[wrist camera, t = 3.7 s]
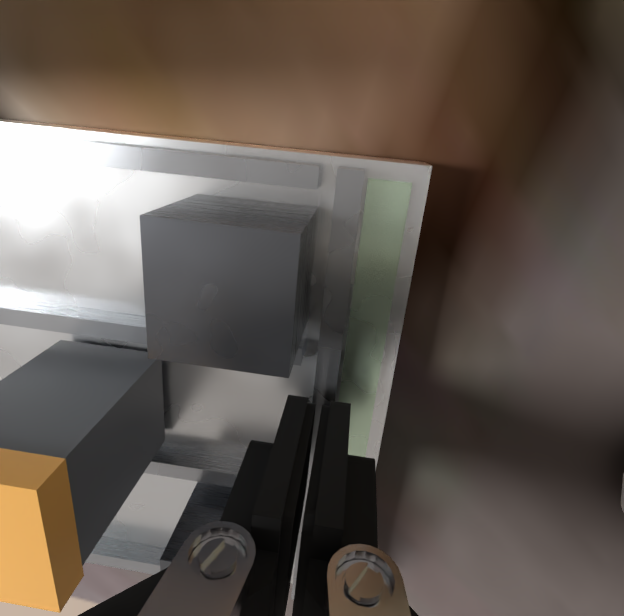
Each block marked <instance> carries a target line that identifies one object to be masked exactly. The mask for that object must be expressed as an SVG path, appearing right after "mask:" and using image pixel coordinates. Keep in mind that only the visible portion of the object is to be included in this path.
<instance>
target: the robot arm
mask: <svg viewBox="0 0 624 616" xmlns="http://www.w3.org/2000/svg"><path fill="white" fill-rule="evenodd" d="M308 400H309V398H308V397H302V396H295V395H288V397H287V400H286V404H285V407H284V410H283V414H282V417H281V420H280V424H279V427H278V430H277V434H276V437H275V440H274V443H268V442H262V441H255V440H251V441H250V443H249V445H248V448H247V451H246V453H245V456H244V459H243V461H242V464H241V466H240V469H239V472H238V474H237V477H236V480H235V482H234V485H233V488H232V490H231V493H230V496H229V498H228V501H227V503H226V506H225V509H224V511H223V514H222V517H221V519H220V521H219V522H211V523H209V524H206V525H203V526H201V527H199V528H198V529H196V530H195V531H194V532H192V533H191V534H190V535H189V537H188V538H187V539H186V540H185V541H184V543H183V545H182V546H181V548H180V549H179V551H178V552H177V554H176V556H175V557H174V559H173V560H172V562H171V564H170V565H169V567H167V568H165V569H164V570H162V571H160V572H158V573H156V574H154V575H152V576H151V577H149V578H147V579H145V580H143V581H141V582H139V583H137V584H136V585H134V586H132V587H130V588H128V589H126V590H124V591H123V592H121V593H119V594H117V595H115V596H113V597H111V598H110V599H108V600H106V601H104V602H102V603H100V604H98V605H96V606H95V607H93V608H91V609H89V610H87V611H85V612H84V613H82V614H80V615H78V616H285V611H286V605H287V600H288V594H289V588H290V582H291V576H292V570H293V564H294V558H295V553H296V547H297V541H298V535H299V529H300V523H301V517H302V512H303V506H304V500H305V494H306V487H307V479H308V470H309V461H310V452H311V443H312V434H313V425H314V416H315V407H316V404H312V403H308ZM350 411H351V403H344V402H337V401H331V403H330V406H326V405H322V408H321V414H320V420H319V426H318V432H317V438H316V444H315V450H314V456H313V463H312V469H311V475H310V481H309V487H308V493H307V499H306V505H305V511H304V518H303V525H302V532H301V541H300V550H299V559H298V568H297V577H296V586H295V595H294V604H293V613H292V616H418V615H417V614H416V612H415V611H414V610H413V609H412V608H411V607H410V606H409V604H408V600H407V596H406V591H405V587H404V583H403V578H402V576H401V573H400V571H399V568H398V567H397V565H396V564H395V563H394V561H393V560H392V559H391V558H390V557H389V556H388V555H387V554H385V553H384V552H383V551H382V550H379V549H378V548H377V507H376V466H375V459H374V458H367V457H360V456H354V455H348V444H349V428H350Z"/></svg>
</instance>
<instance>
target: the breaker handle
mask: <svg viewBox="0 0 624 616" xmlns="http://www.w3.org/2000/svg"><path fill="white" fill-rule="evenodd" d="M164 441H165V422H164V400H163V378H162V360H155V359H148V352H144V351H137V350H130V349H123V348H116V347H108V346H101V345H94V344H87V343H80V342H73V341H66V340H60V341H58V342H57V343H55V344H54V345H52V346H51V347H49V348H48V349H46V350H45V351H43V352H42V353H40V354H39V355H37V356H36V357H34V358H33V359H32V360H30V361H29V362H27V363H26V364H24V365H23V366H21V367H20V368H18V369H17V370H15V371H14V372H12V373H11V374H9V375H8V376H6V377H5V378H4V379H2V380H1V381H0V601H1V602H6V603H11V604H16V605H22V606H27V607H33V608H38V609H44V610H49V611H54V612H59V613H60V612H61V610H62V609H63V607H64V605H65V604H66V603H67V601H68V599H69V598H70V596H71V595H72V593H73V592H74V590H75V588H76V587H77V585H78V584H79V582H80V581H81V579H82V578H83V576H84V574H83V567H82V566H83V564H84V563H85V561H86V560H87V558H88V557H89V555H90V554H91V552H92V551H93V549H94V548H95V546H96V545H97V543H98V542H99V540H100V539H101V537H102V536H103V534H104V532H105V531H106V529H107V528H108V526H109V525H110V523H111V522H112V520H113V519H114V517H115V516H116V514H117V513H118V511H119V510H120V508H121V507H122V505H123V504H124V502H125V500H126V499H127V497H128V496H129V494H130V493H131V491H132V490H133V488H134V487H135V485H136V484H137V482H138V481H139V479H140V478H141V476H142V475H143V473H144V472H145V470H146V468H147V467H148V465H149V464H150V462H151V461H152V459H153V458H154V456H155V455H156V453H157V452H158V450H159V449H160V447H161V446H162V444H163V443H164Z"/></svg>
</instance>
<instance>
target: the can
mask: <svg viewBox="0 0 624 616" xmlns="http://www.w3.org/2000/svg"><path fill="white" fill-rule="evenodd" d="M621 507H622V509H623V512H624V474H623V481H622V494H621Z"/></svg>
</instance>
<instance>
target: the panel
mask: <svg viewBox="0 0 624 616" xmlns="http://www.w3.org/2000/svg"><path fill="white" fill-rule="evenodd" d="M431 171H432V166H431V165H429V164H427V163H426V162H421V161H411V160H401V159H391V158H381V157H372V156H362V155H352V154H342V153H332V152H323V151H313V150H303V149H293V148H283V147H274V146H264V145H254V144H244V143H234V142H225V141H215V140H205V139H195V138H185V137H176V136H166V135H156V134H146V133H136V132H127V131H117V130H107V129H97V128H87V127H78V126H68V125H58V124H48V123H38V122H29V121H19V120H9V119H0V381H1V380H2V379H4V378H5V377H6V376H8V375H9V374H11V373H12V372H14V371H15V370H17V369H18V368H20V367H21V366H23V365H24V364H26V363H27V362H29V361H30V360H32V359H33V358H34V357H36V356H37V355H39V354H40V353H42V352H43V351H45V350H46V349H48V348H49V347H51V346H52V345H54V344H55V343H57V342H58V341H60V340H66V341H73V342H80V343H87V344H94V345H101V346H108V347H116V348H123V349H130V350H137V351H144V352H148V359H155V360H162V378H163V400H164V422H165V441H164V443H163V444H162V446H161V447H160V449H159V450H158V452H157V453H156V455H155V456H154V458H153V459H152V461H151V462H150V464H149V465H148V467H147V468H146V470H145V472H144V473H143V475H142V476H141V478H140V479H139V481H138V482H137V484H136V485H135V487H134V488H133V490H132V491H131V493H130V494H129V496H128V497H127V499H126V500H125V502H124V504H123V505H122V507H121V508H120V510H119V511H118V513H117V514H116V516H115V517H114V519H113V520H112V522H111V523H110V525H109V526H108V528H107V529H106V531H105V532H104V534H103V536H102V537H101V539H100V540H99V542H98V543H97V545H96V546H95V548H94V549H93V551H92V552H91V554H90V555H89V557H88V558H87V560H86V561H85V562H87V563H92V564H98V565H103V566H109V567H114V568H120V569H126V570H131V571H137V572H142V573H148V574H156V573H158V572H160V571H162V570H164V569H165V568H167V567H169V565H170V564H171V562H172V560H173V559H174V557H175V556H176V554H177V552H178V551H179V549H180V548H181V546H182V545H183V543H184V541H185V540H186V539H187V538H188V537H189V535H190V534H191V533H192V532H194V531H195V530H196V529H198V528H199V527H201V526H203V525H206V524H209V523H211V522H219V521H220V519H221V517H222V514H223V511H224V509H225V506H226V503H227V501H228V498H229V496H230V493H231V490H232V488H233V485H234V482H235V480H236V477H237V474H238V472H239V469H240V466H241V464H242V461H243V459H244V456H245V453H246V451H247V448H248V445H249V443H250V441H251V440H255V441H262V442H268V443H274V440H275V437H276V434H277V430H278V427H279V424H280V420H281V417H282V414H283V410H284V407H285V404H286V400H287V397H288V395H295V396H302V397H308V398H309V400H308V403H312V404H316V407H315V416H314V425H313V434H312V443H311V452H310V461H309V470H308V479H307V487H306V494H305V500H304V506H303V512H302V517H301V523H300V529H299V535H298V541H297V547H296V553H295V558H294V564H293V570H292V576H291V582H290V583H293V586H292V595H291V599H293V600H294V595H295V586H296V577H297V568H298V559H299V550H300V541H301V532H302V525H303V518H304V511H305V505H306V499H307V493H308V487H309V481H310V475H311V469H312V463H313V456H314V450H315V444H316V438H317V432H318V426H319V420H320V414H321V408H322V405H326V406H330V403H331V401H337V402H344V403H351V411H350V428H349V444H348V455H354V456H360V457H367V458H374V459H375V466H376V467H377V461H378V456H379V451H380V445H381V440H382V434H383V429H384V424H385V418H386V413H387V408H388V402H389V397H390V391H391V386H392V381H393V375H394V370H395V365H396V359H397V354H398V348H399V343H400V338H401V332H402V327H403V321H404V316H405V311H406V305H407V300H408V295H409V289H410V284H411V278H412V273H413V268H414V262H415V257H416V252H417V246H418V241H419V235H420V230H421V225H422V219H423V214H424V208H425V203H426V198H427V192H428V187H429V182H430V176H431Z"/></svg>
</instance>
